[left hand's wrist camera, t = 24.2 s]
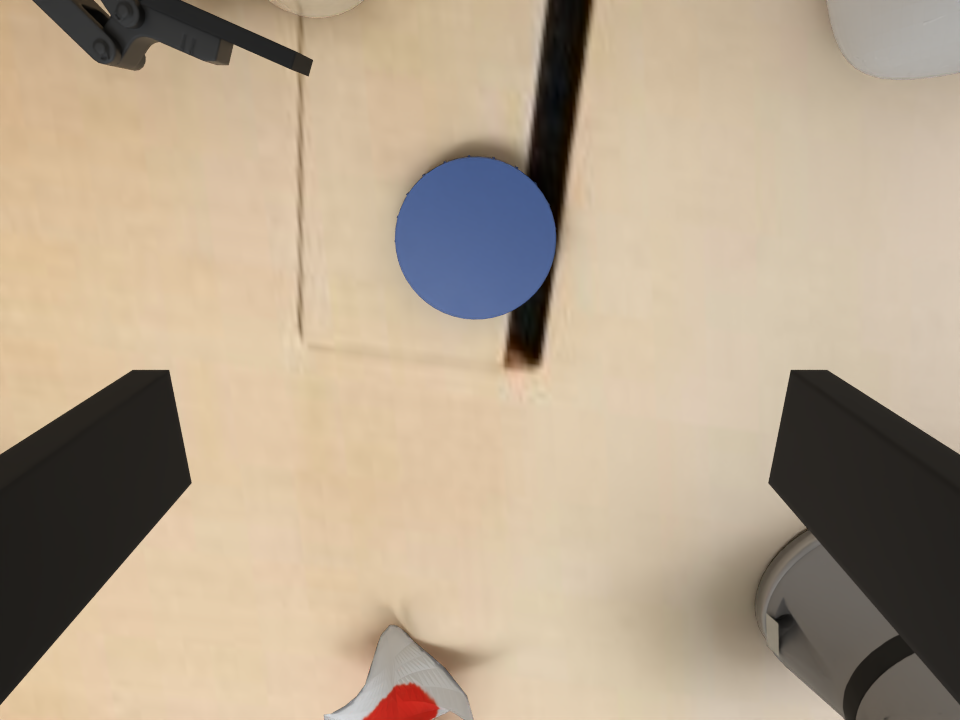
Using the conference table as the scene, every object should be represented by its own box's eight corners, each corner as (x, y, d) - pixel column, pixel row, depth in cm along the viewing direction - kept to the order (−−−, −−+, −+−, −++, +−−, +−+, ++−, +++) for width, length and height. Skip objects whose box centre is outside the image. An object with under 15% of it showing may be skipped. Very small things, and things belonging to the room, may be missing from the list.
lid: (381, 288, 36) (376, 295, 35) (420, 133, 33) (417, 132, 32) (524, 329, 37) (526, 338, 36) (575, 183, 34) (580, 185, 33)
